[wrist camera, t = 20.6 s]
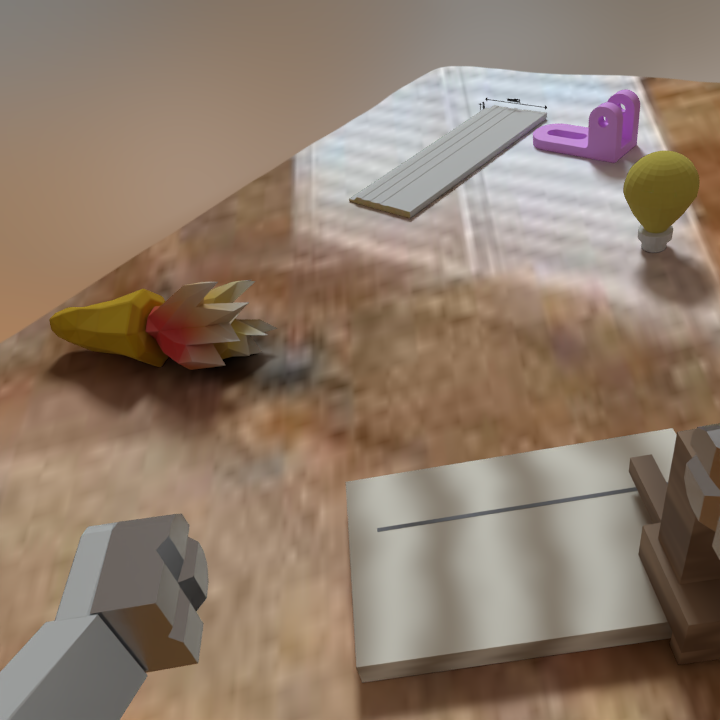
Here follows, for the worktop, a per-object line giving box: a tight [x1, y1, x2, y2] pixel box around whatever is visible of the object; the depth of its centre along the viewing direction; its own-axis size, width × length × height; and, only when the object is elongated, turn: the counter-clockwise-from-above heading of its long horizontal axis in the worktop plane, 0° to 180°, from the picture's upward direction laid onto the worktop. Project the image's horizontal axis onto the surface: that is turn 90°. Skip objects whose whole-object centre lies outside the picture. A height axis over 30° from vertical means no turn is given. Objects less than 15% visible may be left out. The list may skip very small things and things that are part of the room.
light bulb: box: [623, 151, 699, 253], centre depth 66 cm, size 7×7×10 cm
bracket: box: [533, 90, 640, 163], centre depth 87 cm, size 13×6×7 cm, turn 46°
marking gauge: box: [629, 429, 720, 665], centre depth 38 cm, size 4×12×13 cm, turn 3°
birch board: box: [346, 428, 677, 683], centre depth 45 cm, size 24×14×2 cm, turn 93°
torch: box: [50, 280, 277, 370], centre depth 68 cm, size 8×8×25 cm
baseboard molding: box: [349, 98, 547, 218], centre depth 93 cm, size 31×3×12 cm
